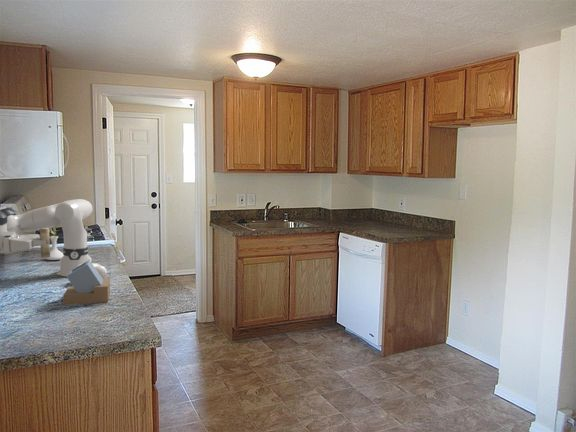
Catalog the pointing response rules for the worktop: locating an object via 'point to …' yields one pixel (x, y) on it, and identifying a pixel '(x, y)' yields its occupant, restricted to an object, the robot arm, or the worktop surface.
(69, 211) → the robot arm
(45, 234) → the peg
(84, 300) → the socket
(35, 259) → the worktop surface
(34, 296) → the worktop surface
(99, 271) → the lightbulb
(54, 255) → the flower in vase
